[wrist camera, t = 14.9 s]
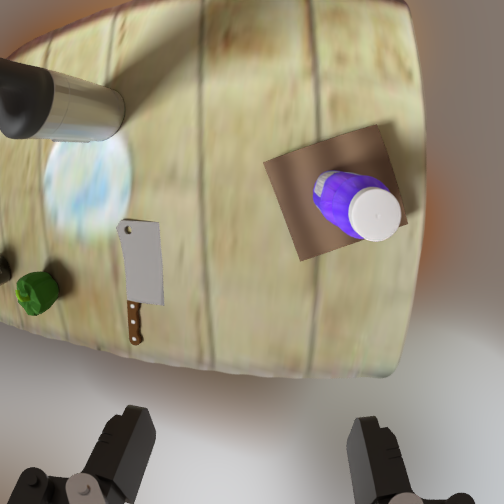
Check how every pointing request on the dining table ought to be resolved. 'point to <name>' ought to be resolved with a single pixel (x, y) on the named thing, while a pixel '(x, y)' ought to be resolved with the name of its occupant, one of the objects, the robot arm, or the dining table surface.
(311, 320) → the dining table surface
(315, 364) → the dining table surface
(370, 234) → the bottle
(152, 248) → the kitchen cleaver
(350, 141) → the walnut stand
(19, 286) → the bell pepper
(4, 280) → the supplement bottle
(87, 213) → the dining table surface
